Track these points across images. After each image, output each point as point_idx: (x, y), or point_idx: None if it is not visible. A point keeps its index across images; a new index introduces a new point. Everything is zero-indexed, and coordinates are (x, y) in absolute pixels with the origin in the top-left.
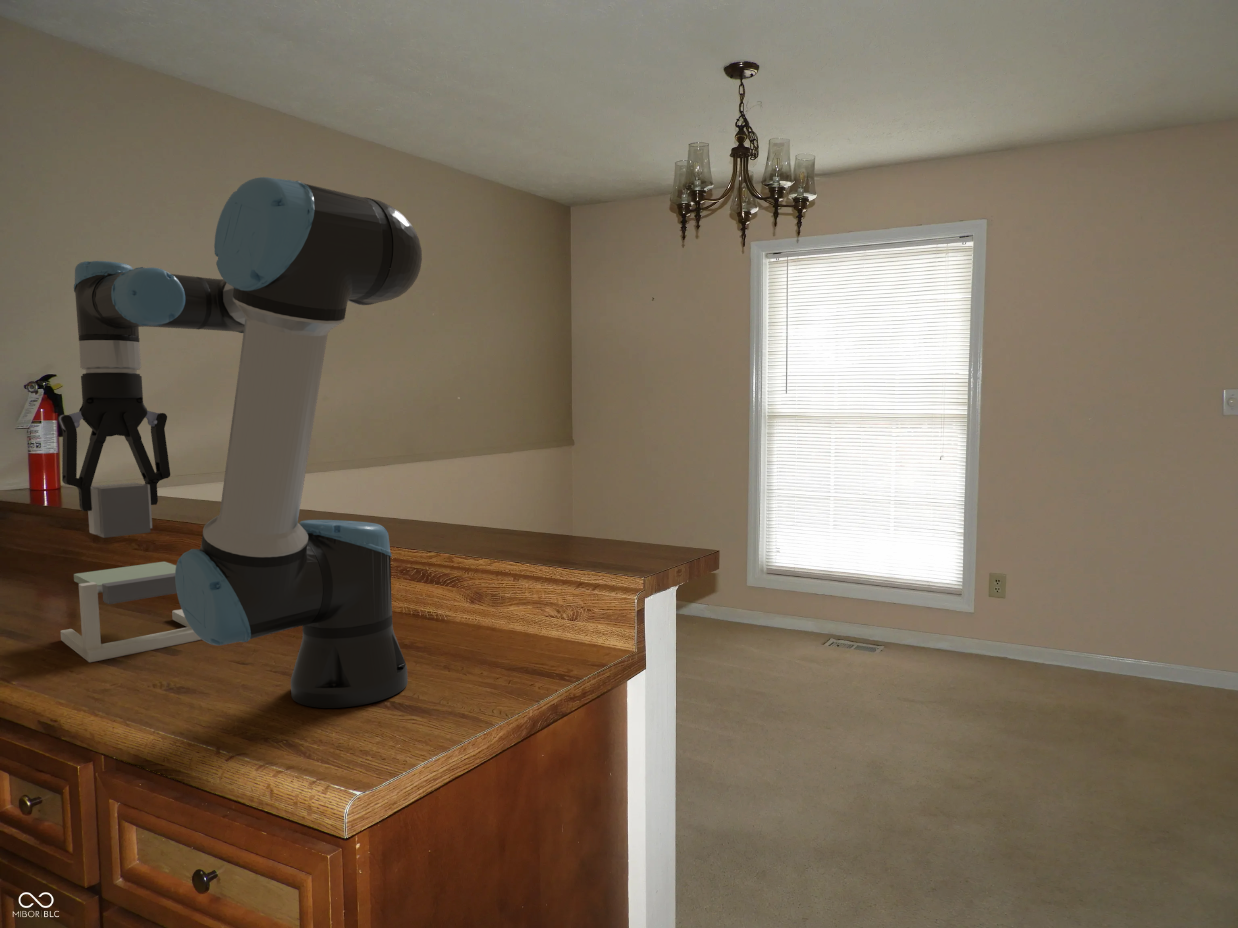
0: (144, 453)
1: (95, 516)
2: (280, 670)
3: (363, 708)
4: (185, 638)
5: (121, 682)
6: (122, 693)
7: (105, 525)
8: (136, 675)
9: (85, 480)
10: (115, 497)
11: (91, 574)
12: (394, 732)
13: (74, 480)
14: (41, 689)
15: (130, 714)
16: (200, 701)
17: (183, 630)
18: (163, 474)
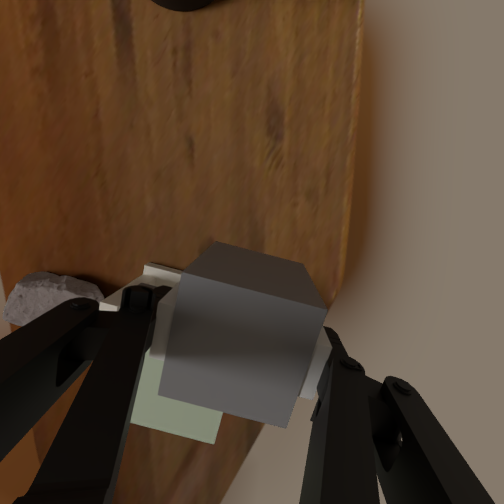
0: (93, 391)
1: None
2: (184, 81)
3: None
4: (180, 272)
5: (288, 203)
6: (307, 169)
7: (302, 270)
8: (268, 211)
9: (356, 376)
10: (283, 285)
11: (204, 422)
12: None
13: (393, 386)
14: (334, 253)
15: (340, 98)
16: (286, 67)
17: (173, 285)
18: (89, 307)
